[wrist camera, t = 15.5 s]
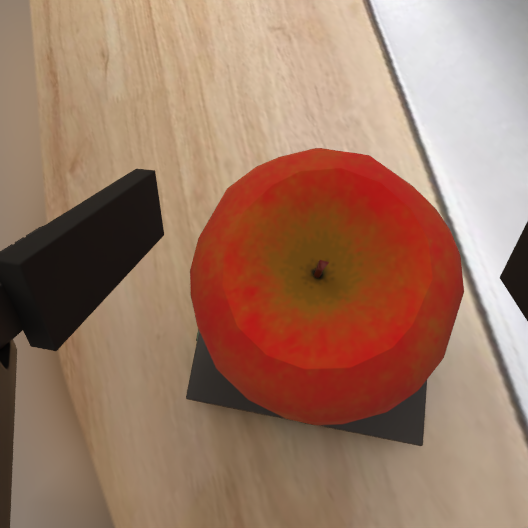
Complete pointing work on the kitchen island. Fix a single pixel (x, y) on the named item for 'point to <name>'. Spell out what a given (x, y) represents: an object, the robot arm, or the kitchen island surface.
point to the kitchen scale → (226, 394)
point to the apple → (326, 287)
